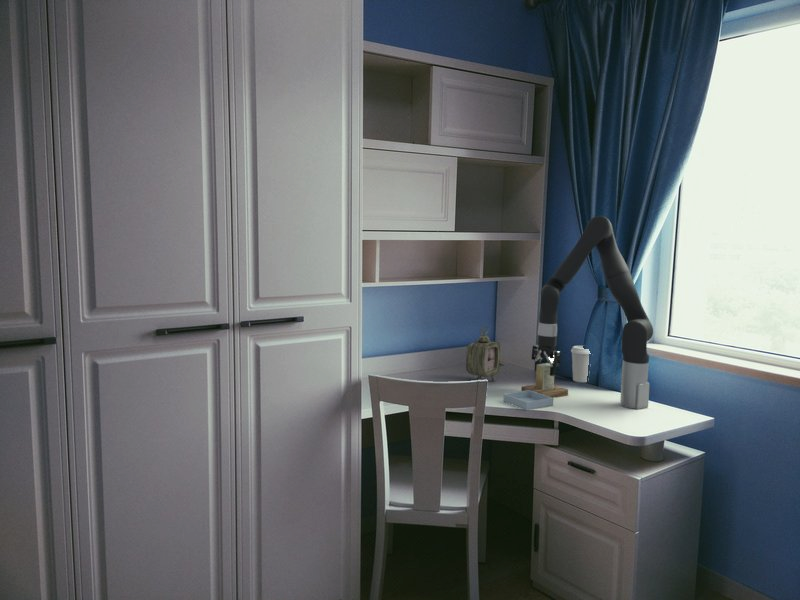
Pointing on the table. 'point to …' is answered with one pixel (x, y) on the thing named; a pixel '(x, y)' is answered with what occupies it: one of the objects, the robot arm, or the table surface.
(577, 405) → the table surface
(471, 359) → the tabletop clock
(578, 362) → the coffee cup
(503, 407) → the table surface
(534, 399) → the tray
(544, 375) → the skincare box
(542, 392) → the walnut plate
